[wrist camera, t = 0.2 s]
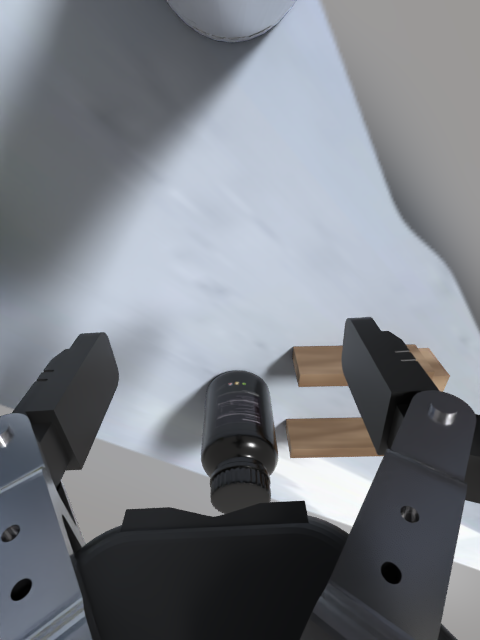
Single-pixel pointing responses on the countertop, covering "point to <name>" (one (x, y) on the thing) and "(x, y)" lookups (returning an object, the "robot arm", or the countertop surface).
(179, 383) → the countertop surface
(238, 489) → the supplement bottle
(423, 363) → the dock
